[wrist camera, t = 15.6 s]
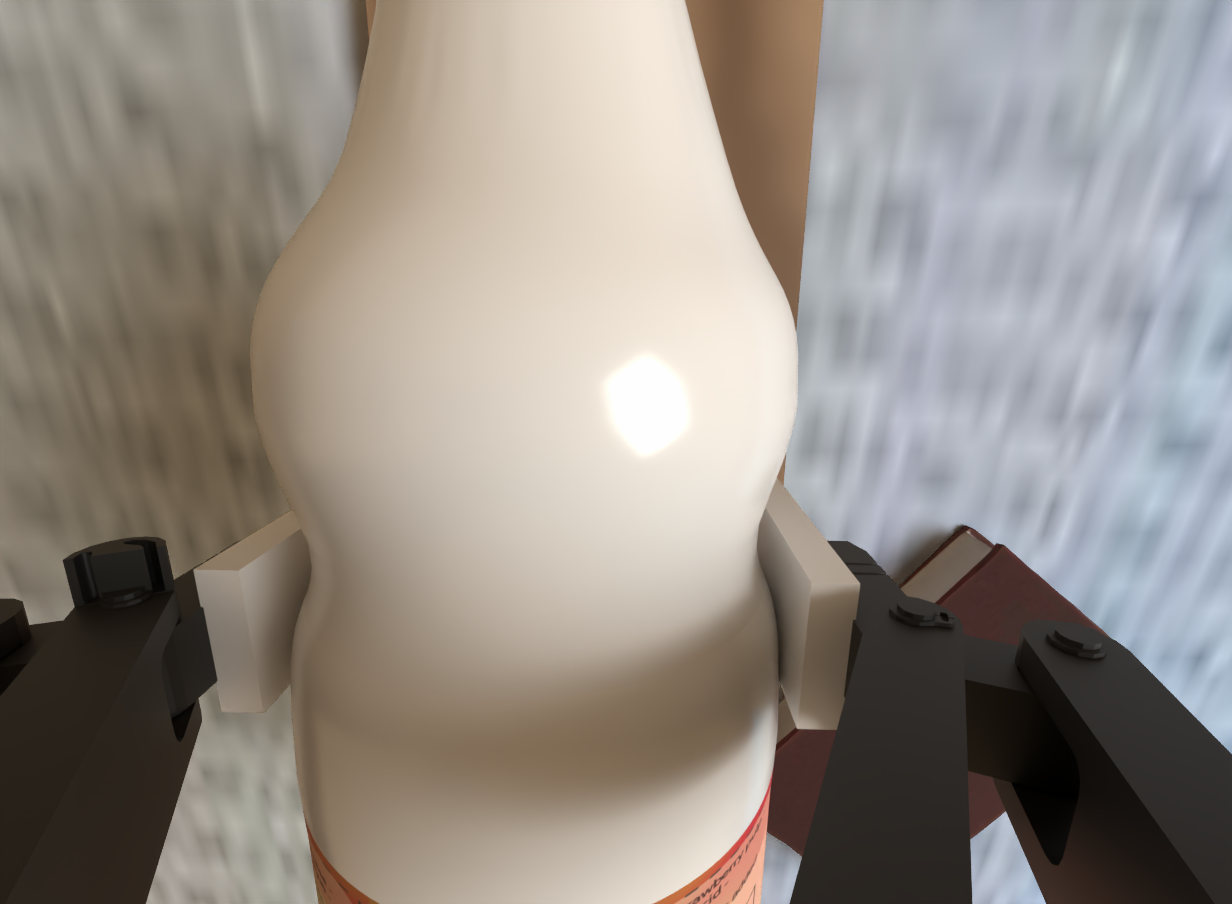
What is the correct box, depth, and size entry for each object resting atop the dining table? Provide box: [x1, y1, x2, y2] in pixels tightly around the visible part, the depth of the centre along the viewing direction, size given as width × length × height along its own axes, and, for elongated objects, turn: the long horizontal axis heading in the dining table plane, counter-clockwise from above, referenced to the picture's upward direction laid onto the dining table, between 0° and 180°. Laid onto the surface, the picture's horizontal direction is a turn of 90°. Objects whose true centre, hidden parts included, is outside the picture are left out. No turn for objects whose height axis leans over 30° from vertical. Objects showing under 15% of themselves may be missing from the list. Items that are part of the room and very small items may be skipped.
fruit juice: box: [250, 0, 798, 904], centre depth 12 cm, size 9×9×28 cm
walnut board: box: [365, 0, 824, 485], centre depth 28 cm, size 18×36×1 cm, turn 0°
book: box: [767, 525, 1110, 856], centre depth 31 cm, size 12×19×3 cm, turn 141°
